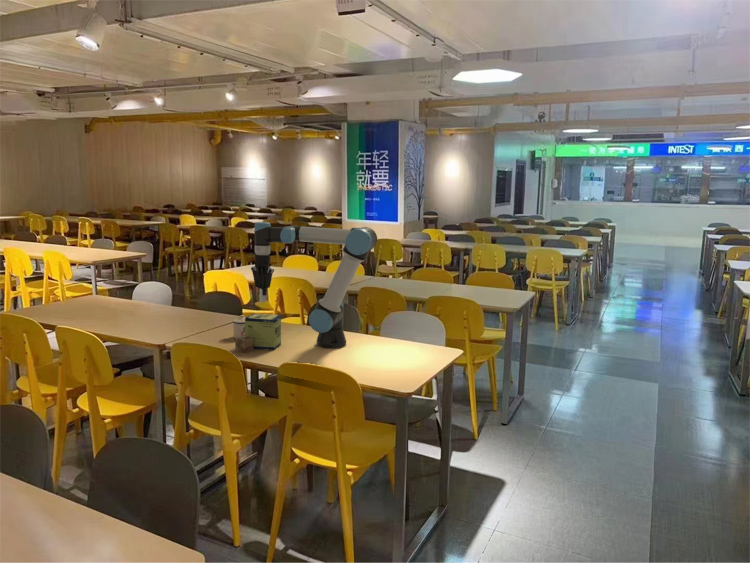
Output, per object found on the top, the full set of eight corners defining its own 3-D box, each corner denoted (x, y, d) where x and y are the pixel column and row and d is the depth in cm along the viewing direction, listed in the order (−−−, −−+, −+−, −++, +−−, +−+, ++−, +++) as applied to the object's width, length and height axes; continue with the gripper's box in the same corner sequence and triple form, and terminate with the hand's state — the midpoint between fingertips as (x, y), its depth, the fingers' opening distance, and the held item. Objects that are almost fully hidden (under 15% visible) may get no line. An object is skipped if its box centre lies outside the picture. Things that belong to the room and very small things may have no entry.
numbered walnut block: (253, 350, 277) (253, 337, 276) (244, 353, 272) (244, 340, 271) (244, 348, 280) (243, 335, 279) (235, 351, 275) (235, 338, 274)
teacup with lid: (243, 340, 294) (242, 318, 293) (229, 337, 299) (229, 316, 297) (258, 335, 305) (258, 314, 303) (245, 332, 309) (244, 312, 307)
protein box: (275, 350, 278) (274, 319, 275) (244, 348, 280) (244, 317, 277) (281, 344, 288) (281, 314, 285) (252, 342, 290) (252, 313, 288)
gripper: (246, 253, 276) (247, 301, 280) (267, 255, 270) (267, 304, 274) (257, 252, 283) (257, 298, 287) (277, 254, 276) (277, 302, 280)
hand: (262, 301), depth 280 cm, fingers closed
